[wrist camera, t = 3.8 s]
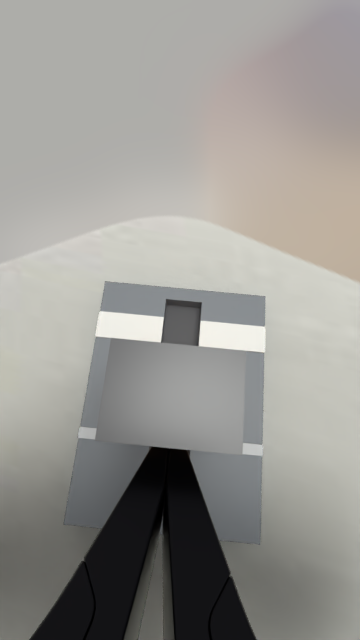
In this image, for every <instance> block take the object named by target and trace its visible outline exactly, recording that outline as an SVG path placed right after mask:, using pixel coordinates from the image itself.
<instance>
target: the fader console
mask: <svg viewBox="0 0 360 640" xmlns="http://www.w3.org/2000/svg"><path fill="white" fill-rule="evenodd" d="M265 331H266V327H265V296H256V295H246V294H235V293H224V292H214V291H203V290H192V289H182V288H171V287H160V286H150V285H139V284H128V283H118V282H107V281H105V286H104V292H103V297H102V303H101V309H100V311H99V316H98V322H97V327H96V333H95V337H96V338H95V344H94V350H93V356H92V362H91V367H90V373H89V379H88V385H87V391H86V397H85V402H84V408H83V414H82V420H81V426H80V427H79V432H78V443H77V449H76V455H75V461H74V466H73V472H72V478H71V484H70V490H69V496H68V501H67V507H66V513H65V519H64V525H74V526H83V527H93V528H102V527H103V526H104V524H105V522H106V521H107V519H108V517H109V516H110V514H111V512H112V511H113V509H114V507H115V506H116V504H117V502H118V501H119V499H120V498H121V496H122V494H123V493H124V491H125V489H126V488H127V486H128V484H129V483H130V481H131V479H132V478H133V476H134V475H135V473H136V471H137V470H138V468H139V466H140V465H141V463H142V461H143V460H144V458H145V456H146V455H147V453H148V451H149V450H150V448H151V447H152V446H142V445H132V444H122V443H112V442H102V441H95V436H96V430H97V423H98V417H99V411H100V404H101V398H102V392H103V385H104V379H105V373H106V366H107V360H108V354H109V347H110V341H111V338H118V339H129V340H139V341H150V342H160V343H171V344H181V345H191V346H202V347H212V348H223V349H233V350H244V351H246V370H245V398H244V425H243V452H242V455H233V454H223V453H212V452H202V451H192V450H187V451H188V454H189V457H190V460H191V462H192V465H193V468H194V471H195V474H196V476H197V479H198V482H199V485H200V488H201V490H202V493H203V496H204V499H205V502H206V505H207V507H208V510H209V513H210V516H211V519H212V521H213V524H214V527H215V530H216V533H217V535H218V538H219V540H220V541H230V542H240V543H249V544H259V545H260V533H261V484H262V456H263V445H262V436H263V388H264V353H265ZM164 499H165V498H164ZM163 510H164V508H163ZM162 523H163V517H162ZM160 534H161V535H162V525H161V530H160Z"/></svg>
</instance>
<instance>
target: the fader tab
mask: <svg viewBox="0 0 360 640" xmlns="http://www.w3.org/2000/svg"><path fill="white" fill-rule="evenodd" d="M245 370H246V351H244V350H233V349H223V348H212V347H202V346H191V345H181V344H171V343H160V342H150V341H139V340H129V339H118V338H111V341H110V347H109V354H108V360H107V366H106V373H105V379H104V385H103V392H102V398H101V404H100V411H99V417H98V423H97V430H96V436H95V441H102V442H112V443H122V444H132V445H142V446H152V447H162V448H172V449H182V450H192V451H202V452H212V453H223V454H233V455H242V452H243V425H244V398H245Z"/></svg>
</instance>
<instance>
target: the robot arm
mask: <svg viewBox="0 0 360 640" xmlns="http://www.w3.org/2000/svg"><path fill="white" fill-rule="evenodd" d="M164 498H165V499H164ZM163 508H164V510H163ZM162 517H163V523H162ZM161 525H162V561H163V640H257V639H256V637H255V635H254V632H253V630H252V628H251V625H250V623H249V620H248V618H247V615H246V612H245V610H244V607H243V605H242V602H241V599H240V597H239V594H238V591H237V588H236V586H235V583H234V580H233V577H232V576H230V575H231V572H230V569H229V566H228V564H227V561H226V558H225V555H224V552H223V550H222V547H221V544H220V541H219V538H218V535H217V533H216V530H215V527H214V524H213V521H212V519H211V516H210V513H209V510H208V507H207V505H206V502H205V499H204V496H203V493H202V490H201V488H200V485H199V482H198V479H197V476H196V474H195V471H194V468H193V465H192V462H191V460H190V457H189V454H188V451H187V450H182V449H172V448H162V447H151V448H150V450H149V451H148V453H147V455H146V456H145V458H144V460H143V461H142V463H141V465H140V466H139V468H138V470H137V471H136V473H135V475H134V476H133V478H132V479H131V481H130V483H129V484H128V486H127V488H126V489H125V491H124V493H123V494H122V496H121V498H120V499H119V501H118V502H117V504H116V506H115V507H114V509H113V511H112V512H111V514H110V516H109V517H108V519H107V521H106V522H105V524H104V526H103V527H102V529H101V530H100V532H99V534H98V535H97V537H96V539H95V540H94V542H93V544H92V545H91V547H90V549H89V550H88V552H87V554H86V555H85V557H84V561H82V562H81V563H80V565H79V566H78V568H77V570H76V571H75V573H74V575H73V576H72V578H71V579H70V581H69V583H68V584H67V586H66V587H65V589H64V590H63V592H62V593H61V595H60V597H59V598H58V600H57V601H56V603H55V604H54V606H53V607H52V609H51V610H50V611H49V613H48V614H47V616H46V617H45V619H44V620H43V621H42V623H41V624H40V626H39V627H38V628H37V630H36V631H35V633H34V634H33V635H32V637H31V638H30V639H29V640H138V636H139V631H140V626H141V621H142V617H143V612H144V607H145V602H146V598H147V593H148V588H149V583H150V578H151V574H152V569H153V564H154V559H155V555H156V550H157V545H158V540H159V535H160V530H161Z"/></svg>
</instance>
